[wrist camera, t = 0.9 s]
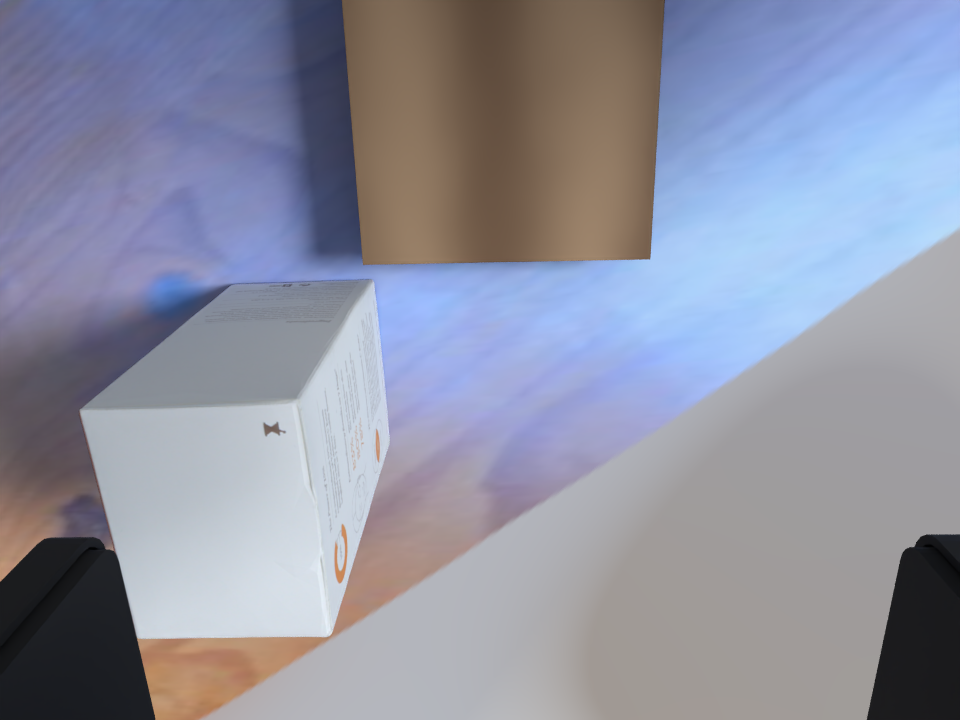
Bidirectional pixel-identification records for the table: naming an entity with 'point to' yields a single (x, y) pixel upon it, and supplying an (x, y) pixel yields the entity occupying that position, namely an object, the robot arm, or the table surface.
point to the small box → (245, 461)
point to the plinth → (504, 128)
